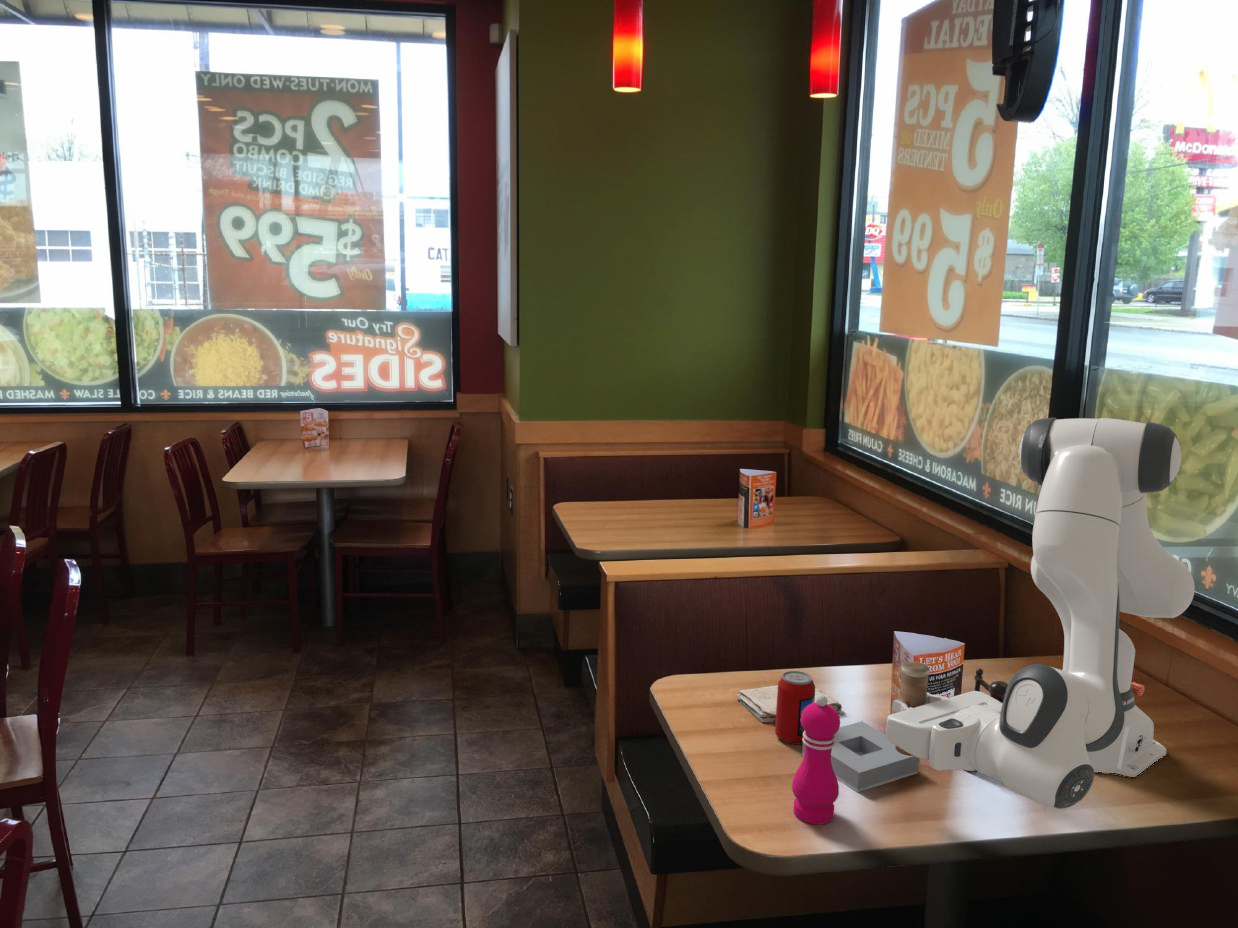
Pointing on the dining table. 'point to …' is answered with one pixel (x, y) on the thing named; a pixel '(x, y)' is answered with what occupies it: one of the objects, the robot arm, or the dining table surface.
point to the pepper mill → (817, 764)
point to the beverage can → (793, 705)
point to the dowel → (913, 687)
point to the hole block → (868, 758)
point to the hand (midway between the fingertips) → (908, 700)
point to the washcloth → (770, 702)
